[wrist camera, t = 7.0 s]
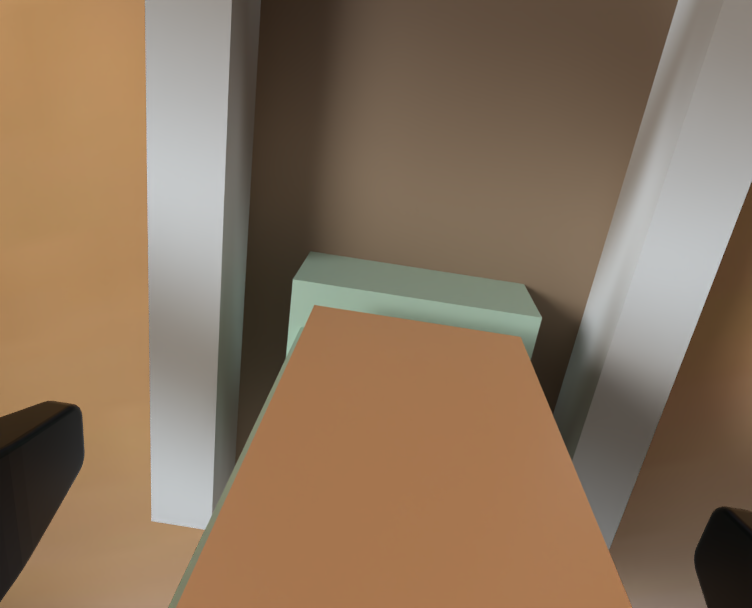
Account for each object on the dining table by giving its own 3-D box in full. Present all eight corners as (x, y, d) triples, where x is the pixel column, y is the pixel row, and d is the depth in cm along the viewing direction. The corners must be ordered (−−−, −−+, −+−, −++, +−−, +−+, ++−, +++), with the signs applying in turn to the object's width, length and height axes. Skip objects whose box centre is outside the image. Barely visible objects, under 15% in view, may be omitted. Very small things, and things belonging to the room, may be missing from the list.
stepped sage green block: (479, 460, 12) (630, 1361, 4) (292, 430, 12) (0, 1252, 4) (523, 284, 10) (965, 1108, 2) (310, 251, 10) (-114, 928, 2)
